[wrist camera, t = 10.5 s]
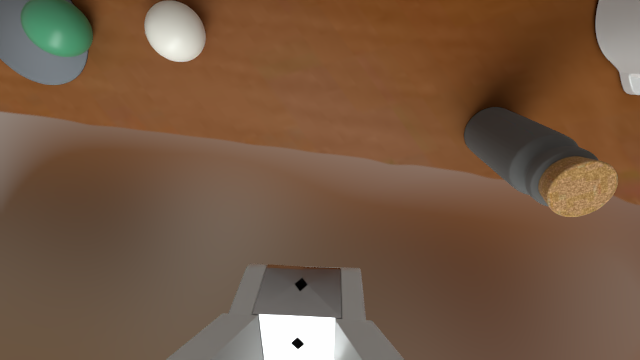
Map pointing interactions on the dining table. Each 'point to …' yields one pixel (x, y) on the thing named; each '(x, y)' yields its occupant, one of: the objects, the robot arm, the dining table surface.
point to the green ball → (56, 27)
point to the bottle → (541, 162)
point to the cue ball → (175, 31)
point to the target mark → (33, 50)
